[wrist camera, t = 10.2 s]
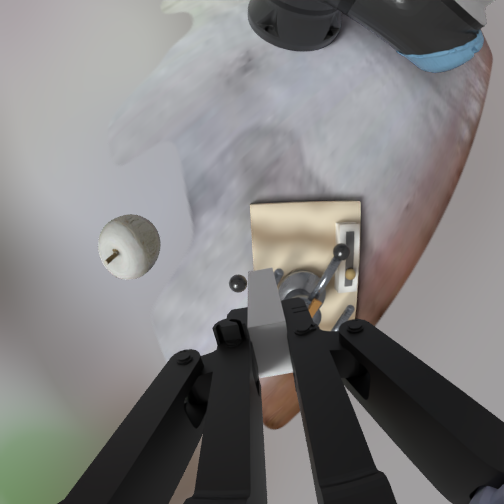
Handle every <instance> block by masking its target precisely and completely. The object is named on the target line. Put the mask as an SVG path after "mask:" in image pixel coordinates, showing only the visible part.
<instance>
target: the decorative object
mask: <svg viewBox="0 0 504 504" xmlns="http://www.w3.org/2000/svg"><path fill="white" fill-rule="evenodd" d="M98 250H99V255H100V258H101V260H102V262H103V264H104V265H105V267H106V268H107V270H108V271H109V272H110V273H111V274H113V275H114V276H116V277H118V278H120V279H124V280H130V279H136V278H139V277H141V276H143V275H144V274H145V273H147V272H148V271H149V270H150V269H151V268H152V267H153V265H154V264H155V262H156V260H157V258H158V255H159V251H160V237H159V234H158V231H157V230H156V228H155V226H154V225H153V224H152V223H151V222H150V221H149V220H147V219H145V218H143V217H141V216H138V215H124V216H120V217H118V218H115V219H113V220H111V221H110V222H108V223H107V224H106V225H105V227H104V228H103V229H102V231H101V234H100V236H99V241H98Z"/></svg>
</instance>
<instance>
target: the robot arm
mask: <svg viewBox="0 0 504 504" xmlns="http://www.w3.org/2000/svg"><path fill="white" fill-rule="evenodd" d="M494 1H495V0H250V2H249V6H248V20H249V23H250V25H251V27H252V29H253V30H254V31H255V32H256V34H257V35H259V36H260V37H261V38H262V39H264V40H265V41H267V42H269V43H271V44H273V45H275V46H278V47H280V48H284V49H288V50H294V51H312V50H317V49H320V48H323V47H325V46H327V45H328V44H330V43H331V42H332V41H333V40H334V39H335V37H336V35H337V34H338V32H339V30H340V28H341V12H342V13H344V14H346V15H347V16H349V17H350V18H352V19H354V20H355V21H357V22H358V23H360V24H361V25H363V26H364V27H366V28H367V29H369V30H370V31H371V32H373V33H374V34H376V35H377V36H378V37H380V38H381V39H382V40H384V41H385V42H386V43H388V44H389V45H390V46H392V47H393V48H394V49H395V50H396V52H397V53H399V54H400V55H402V56H404V57H406V58H407V59H408V60H410V61H411V62H412V63H413V64H415V65H416V66H417V67H418V68H420V69H421V70H424V71H427V72H432V73H439V72H445V71H448V70H451V69H454V68H456V67H458V66H460V65H462V64H464V63H466V62H467V61H469V60H470V59H471V58H473V57H474V53H476V52H479V50H480V49H481V48H482V46H483V42H484V38H483V35H482V32H481V30H480V29H481V28H482V27H484V26H485V25H486V15H485V9H486V7H487V6H488V5H489V4H491V3H492V2H494ZM213 332H214V335H215V338H216V341H217V345H218V346H217V350H215V351H214V352H212V353H209V354H206V355H203V356H200V354H199V352H198V351H196V350H192V349H190V350H183V351H180V352H178V353H176V354H174V355H173V356H172V357H171V358H170V360H169V361H168V362H167V364H166V365H165V366H164V368H163V369H162V370H161V372H160V373H159V374H158V376H157V377H156V378H155V379H154V381H153V382H152V384H151V385H150V386H149V388H148V389H147V390H146V391H145V393H144V394H143V396H142V397H141V398H140V400H139V401H138V402H137V403H136V405H135V406H134V407H133V409H132V410H131V411H130V413H129V414H128V415H127V417H126V418H125V419H124V421H123V422H122V423H121V425H120V426H119V427H118V429H117V430H116V431H115V433H114V434H113V435H112V437H111V438H110V439H109V441H108V442H107V443H106V445H105V446H104V447H103V449H102V450H101V451H100V452H99V454H98V455H97V457H96V458H95V459H94V461H93V462H92V463H91V464H90V466H89V467H88V469H87V470H86V471H85V472H84V474H83V475H82V476H81V478H80V479H79V480H78V482H77V483H76V484H75V486H74V487H73V488H72V490H71V491H70V492H69V494H68V495H67V496H66V498H65V499H64V500H62V501H61V502H59V503H58V504H169V501H170V499H171V497H172V496H173V494H174V491H175V490H176V488H177V486H178V484H179V482H180V480H181V478H182V476H183V474H184V472H185V470H186V468H187V466H188V463H189V461H190V460H191V457H192V455H193V453H194V451H195V449H196V447H197V445H198V443H199V441H200V439H201V436H202V434H203V437H202V445H201V451H200V457H199V464H198V471H197V478H196V485H195V491H194V494H193V496H192V497H190V498H188V499H186V500H185V502H184V503H183V504H267V489H266V470H265V455H264V454H265V453H264V435H263V417H262V399H261V385H260V381H259V377H260V378H262V377H269V376H275V375H281V374H286V373H291V372H293V375H294V382H295V388H296V391H297V396H298V401H299V406H300V411H301V416H302V421H303V427H304V431H305V437H306V442H307V447H308V452H309V458H310V463H311V469H312V474H313V479H314V485H315V491H316V496H317V502H318V504H397V503H396V500H395V497H394V494H393V492H392V489H391V486H390V483H389V481H388V479H387V477H386V475H385V474H384V473H383V472H381V471H378V470H377V468H376V466H375V464H374V461H373V458H372V456H371V453H370V451H369V448H368V445H367V442H366V440H365V437H364V435H363V432H362V429H361V427H360V424H359V422H358V419H357V417H356V414H355V412H354V409H353V407H352V404H351V402H350V399H349V397H348V394H347V392H346V390H345V387H346V388H347V389H348V390H349V391H350V392H351V393H352V395H353V396H354V397H355V398H356V399H357V400H358V401H359V403H360V404H361V405H362V406H363V407H364V408H365V409H366V411H367V412H368V413H369V414H370V415H371V416H372V417H373V419H374V420H375V421H376V422H377V423H378V424H379V426H380V427H382V429H383V430H384V431H385V432H386V433H387V434H388V436H389V437H390V438H391V439H392V440H393V441H394V442H395V444H396V445H397V446H398V447H399V448H400V449H401V450H402V451H403V453H404V454H406V456H407V457H408V458H409V459H410V460H411V461H412V462H413V464H414V465H415V466H416V467H417V468H418V469H419V470H420V471H421V472H422V473H423V475H424V476H425V477H426V478H427V479H428V480H429V481H430V482H431V483H432V484H433V486H434V487H435V488H436V489H437V490H438V491H439V492H440V493H441V494H442V495H443V496H444V497H445V498H446V499H447V500H449V501H450V502H451V503H453V504H504V422H503V421H501V420H500V419H498V418H497V417H496V416H495V415H493V414H492V413H491V412H489V411H488V410H487V409H485V408H484V407H483V406H482V405H480V404H479V403H478V402H476V401H475V400H473V399H472V398H471V397H470V396H468V395H467V394H466V393H464V392H463V391H462V390H460V389H459V388H458V387H456V386H455V385H453V384H452V383H451V382H450V381H448V380H447V379H445V378H444V377H443V376H441V375H440V374H439V373H437V372H436V371H435V370H433V369H432V368H431V367H429V366H428V365H427V364H425V363H424V362H423V361H421V360H420V359H418V358H417V357H416V356H414V355H413V354H412V353H410V352H409V351H407V350H406V349H405V348H403V347H402V346H401V345H399V344H398V343H397V342H395V341H394V340H392V339H391V338H390V337H388V336H387V335H386V334H384V333H383V332H381V331H380V330H379V329H377V328H376V327H375V326H373V325H372V324H370V323H369V322H367V321H365V320H361V319H352V320H348V321H346V322H344V323H342V324H341V325H340V327H339V331H324V330H321V329H320V328H319V326H318V325H317V324H315V323H314V322H313V320H312V317H311V315H310V312H309V310H308V308H307V306H306V303H305V301H304V300H303V299H301V298H299V297H296V298H291V299H286V300H280V296H279V292H278V288H277V284H276V280H275V276H274V272H273V268H266V269H261V270H256V271H250V272H248V307H246V308H240V309H234V310H231V311H230V313H229V314H228V315H227V319H223V320H221V321H219V322H217V323H216V324H215V325H214V327H213ZM258 373H259V374H258ZM344 385H345V387H344Z"/></svg>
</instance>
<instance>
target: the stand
mask: <svg viewBox="0 0 504 504" xmlns="http://www.w3.org/2000/svg"><path fill="white" fill-rule="evenodd" d="M250 214H251V231H252V248H253V266H254V271H256V270H261V269H266V268H273V272H274V271H275V270H276V269H277V268H281V269H282V270H283V271H284V275H283V277H282V279H283V278H284V277H285V276H286V275H287V274H289V273H291V272H293V271H296V270H308V271H311V272H313V273H315V274H316V275H317V276H318V277H319V278H321V276H322V275H323V273H324V271H325V270H326V268H327V266H328V265H329V263H330V261H331V260H332V258H333V256H334V255H333V248H334V247H335V246H336V245H337V244H339V243H344V244H346V245H347V246H348V247H349V249H350V255H349V257H348V258H347V259H346V260H343V261H341V263H340V264H339V266H338V268H337V270H336V271H335V273H334V275H333V276H332V278H331V279H330V281H329V283H328V284H327V286H326V288H325V290H326V296H325V300H324V303H323V305H322V306H321V308H320V311H321V315H322V318H321V322H320V324H319V328H320V329H321V330H324V331H331V329H332V328H333V326H334V325H335V323H336V322H337V321H338V319H339V318H340V316H341V315H342V313H343V312H344V310H345V309H346V307H347V306H348V305H353V306H354V308H355V310H354V312H353V313H352V315H351V316H350V318H349V319H348V320H352V319H355V313H356V302H357V291H358V277H359V260H360V226H361V204H360V201H308V202H281V203H261V204H250ZM282 279H281V280H282ZM281 280H280V282H281ZM280 282H279V283H280ZM278 286H279V284H278V285H277V288H278Z"/></svg>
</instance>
